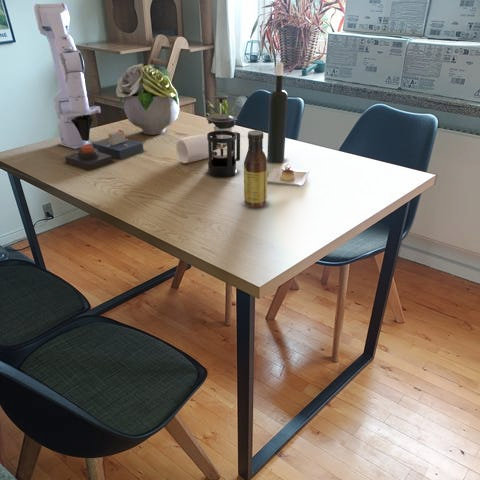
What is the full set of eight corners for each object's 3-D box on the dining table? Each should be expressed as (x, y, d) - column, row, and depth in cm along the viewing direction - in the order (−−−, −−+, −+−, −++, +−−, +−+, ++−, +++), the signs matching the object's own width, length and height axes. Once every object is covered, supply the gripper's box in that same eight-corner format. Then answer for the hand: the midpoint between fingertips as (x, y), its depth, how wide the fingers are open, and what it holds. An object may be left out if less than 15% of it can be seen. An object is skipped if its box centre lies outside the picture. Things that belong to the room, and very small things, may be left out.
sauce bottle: (253, 198, 142) (254, 126, 130) (270, 203, 139) (273, 131, 127) (239, 205, 138) (239, 132, 126) (256, 211, 135) (258, 136, 123)
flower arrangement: (109, 133, 194) (98, 64, 179) (156, 120, 209) (150, 56, 195) (151, 145, 181) (143, 72, 166) (198, 131, 196) (195, 63, 182)
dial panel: (93, 151, 175) (92, 142, 174) (117, 144, 183) (115, 135, 181) (120, 159, 169) (119, 150, 167) (143, 151, 176) (142, 142, 174)
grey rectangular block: (113, 145, 172) (111, 133, 169) (109, 144, 172) (108, 133, 170) (125, 141, 175) (123, 130, 173) (121, 140, 176) (120, 129, 174)
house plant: (196, 139, 188) (194, 93, 178) (229, 134, 193) (229, 89, 183) (210, 149, 178) (209, 101, 168) (245, 144, 182) (245, 97, 173)
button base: (66, 162, 166) (63, 151, 163) (89, 155, 172) (87, 143, 170) (89, 170, 160) (87, 158, 158) (112, 162, 166) (111, 150, 164)
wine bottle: (265, 162, 167) (268, 63, 149) (269, 156, 171) (273, 60, 154) (281, 163, 166) (287, 64, 148) (285, 158, 170) (291, 61, 152)
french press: (215, 180, 153) (213, 101, 140) (200, 171, 159) (197, 95, 146) (246, 172, 158) (247, 96, 145) (230, 164, 165) (230, 90, 151)
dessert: (309, 174, 157) (310, 159, 154) (303, 188, 148) (304, 172, 145) (272, 171, 160) (273, 156, 157) (264, 184, 151) (265, 168, 148)
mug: (213, 160, 168) (213, 136, 164) (189, 166, 163) (188, 141, 159) (194, 151, 176) (193, 128, 171) (170, 157, 171) (168, 133, 166)
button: (79, 152, 164) (78, 146, 163) (88, 149, 166) (87, 144, 165) (86, 154, 162) (85, 148, 161) (95, 151, 164) (94, 146, 163)
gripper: (66, 101, 147) (75, 147, 155) (104, 93, 156) (110, 136, 164) (51, 98, 150) (61, 143, 158) (89, 90, 160) (96, 133, 168)
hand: (85, 139), depth 162 cm, fingers closed
